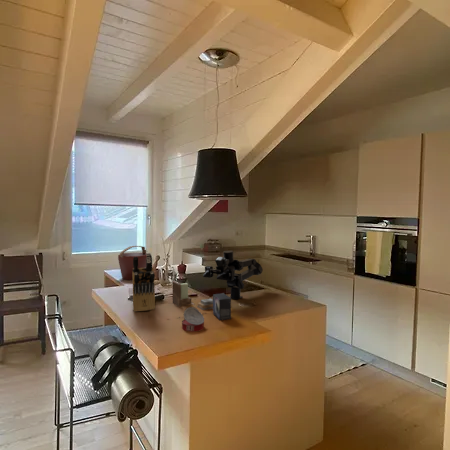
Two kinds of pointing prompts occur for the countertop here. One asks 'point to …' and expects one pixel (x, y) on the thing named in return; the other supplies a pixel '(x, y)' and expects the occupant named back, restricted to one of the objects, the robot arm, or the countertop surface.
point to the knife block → (143, 285)
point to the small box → (222, 306)
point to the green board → (184, 291)
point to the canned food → (192, 320)
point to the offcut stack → (205, 304)
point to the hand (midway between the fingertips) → (210, 277)
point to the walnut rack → (177, 296)
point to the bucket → (131, 262)
